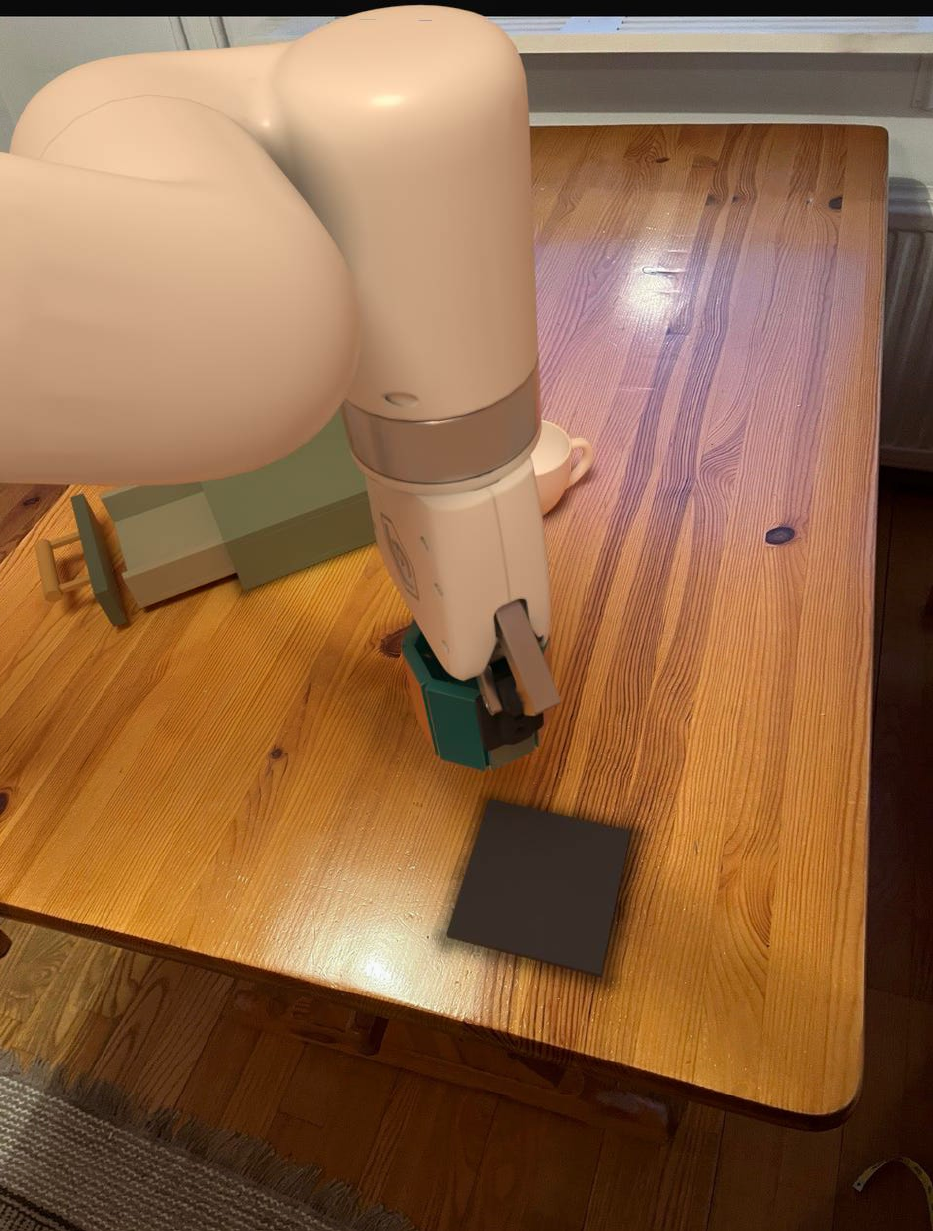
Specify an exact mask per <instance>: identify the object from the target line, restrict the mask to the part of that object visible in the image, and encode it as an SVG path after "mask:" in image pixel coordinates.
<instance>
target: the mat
mask: <svg viewBox="0 0 933 1231" xmlns="http://www.w3.org/2000/svg"><path fill="white" fill-rule="evenodd" d="M481 819H482V820H481V822H480V826H479V829H478V832H477V835H476V838H475V842H474V845H473V848H472V851H471V855H470V857H469V861H468V864H467V866H466V870H465V874H464V876H463V880H462V883H461V886H460V890H459V892H458V895H457V899H456V901H455V902H456V903H455V906H454V909H453V911H452V915H451V918H450V921H449V924H448V927H447V930H446V937H447V938H449V939H452V940H456V941H459V942H464V943H467V944H471V945H475V946H478V947H483V948H487V949H490V950H495V951H498V952H502V953H505V954H509V955H513V956H517V957H520V958H525V959H528V960H532V961H536V962H539V963H543V964H547V965H551V966H554V967H559V968H563V969H567V970H570V971H574V972H578V973H582V974H585V975H589V976H593V977H597V978H602V976H603V971H604V966H605V961H606V956H607V951H608V947H609V941H610V937H611V931H612V928H613V927H612V926H613V921H614V917H615V912H616V911H615V910H616V907H617V903H618V897H619V892H620V886H621V883H622V878H623V873H624V869H625V868H624V867H625V863H626V858H627V853H628V848H629V843H630V838H631V829H627V828H623V827H618V826H615V825H609V824H605V823H600V822H596V821H591V820H586V819H582V818H577V817H572V816H569V815H563V814H559V813H556V812H555V813H554V812H550V811H546V810H541V809H536V808H532V807H527V806H522V805H519V804H513V803H509V802H505V801H500V800H496V799H492V798H489V799H488V800H487V803H486V806H485V810H484V813H483V815H482V818H481Z"/></svg>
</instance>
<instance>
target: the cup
mask: <svg viewBox="0 0 933 1231" xmlns="http://www.w3.org/2000/svg"><path fill="white" fill-rule="evenodd" d="M541 422H542V429H541V434H540V439H539V441H538V443H537V445H536V448H535V449H534V451H533V452H532V453H531V455H530V456H531V459H532V462H533V467H534V472H535V477H536V482H537V488H538V493H539V499H540V505H541V511H542V517H545V515H547V514H548V513H549V512H551V510H553V509H554V507H555V506H556V505H557V504H558V502H559V501H560V500H561V499H562V496H564V493H565V491H566V490H567V489H569V488H571V487H572V486H573V485H575V484H576V483H577V482H578V481H579V480H581V478H582V477H583V476H584V475H585V474H586V473H587V472H588V470H589V468H590V467H591V465H592V463H593V460H594V450H593V446H592V444H591V443H590V441H589V440H588V439H587V438H585V437H582V436H581V437H580V436H578V437H572V438H571V437H570V435H569V434H568V433H567V432H566V431H565V430H564V428H562V427H561V426H559V425H558V424H555V423H554V422H551V421H548V420H544V419H541ZM579 449H582V456H581V459H580V460H579V462H578V464H576V466H575V467H574V468H573V469H572V458H573V457H572V456H573V454H572V453H573V452H574V451H576V450H579Z"/></svg>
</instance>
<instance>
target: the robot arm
mask: <svg viewBox="0 0 933 1231" xmlns="http://www.w3.org/2000/svg"><path fill="white" fill-rule="evenodd" d="M359 19H376V20H359ZM419 20H432V21H419ZM484 20H490V19H489V18H487V17H486V16H484V15H482V14H479V13H476V12H473V11H470V10H466V9H465V10H464V9H461V8H455V7H450V6H442V5H429V4H427V5H425V4H418V5H417V4H415V5H411V4H410V5H397V6H389V7H382V8H375V9H371V10H367V11H362V12H358V13H354V14H351V15H347V16H344V17H341V18H339V19H336V20H333V21H331V22H329V23H326V24H324V25H322V26H320V27H318V28H316V29H314V30H311V31H310V32H308V33H306V34H305V35H303V36H302V37H299V38H298V39H295V40H289V41H282V42H273V43H266V44H255V45H244V46H233V47H220V48H205V49H204V48H203V49H187V50H170V51H168V50H167V51H165V50H164V51H150V52H139V53H131V54H122V55H121V54H120V55H114V56H108V57H104V58H100V59H96V60H92V61H89V62H87V63H83V64H80V65H77V66H75V67H72V68H70V69H68V70H66V71H64V72H63V73H61V74H60V75H58V76H56V77H55V78H54V79H52V80H51V81H49V82H48V83H46V84H45V85H44V86H43V87H42V88H40V90H38V92H36V94H34V95H33V97H32V98H31V100H29V102H28V103H27V105H26V106H25V108H24V110H23V111H22V113H21V115H20V117H19V119H18V121H17V123H16V125H15V128H14V129H13V130H14V131H13V134H12V137H11V140H10V145H9V152H2V151H0V484H22V485H23V484H26V485H29V484H30V485H63V486H64V485H65V486H67V485H68V486H99V487H101V486H103V487H104V486H105V487H106V486H107V487H109V486H111V487H114V486H115V487H116V486H117V487H121V486H151V485H175V484H185V483H192V482H200V481H208V480H215V479H222V478H226V477H230V476H234V475H238V474H241V473H245V472H249V471H253V470H256V469H259V468H261V467H263V466H265V465H268V464H270V463H272V462H275V461H277V460H279V459H281V458H284V457H286V456H288V455H289V454H291V453H292V452H294V451H295V450H297V449H298V448H300V447H301V446H303V445H304V444H306V443H307V442H308V441H310V440H311V439H312V438H313V437H314V436H315V435H316V434H317V433H318V432H319V431H320V430H321V429H322V428H323V427H324V426H325V425H326V424H327V423H328V422H329V421H330V420H331V419H332V417H333V416H334V414H335V413H336V411H337V410H338V408H339V407H340V411H341V415H342V420H343V424H344V428H345V432H346V436H347V439H348V443H349V448H350V452H351V456H352V458H353V460H354V462H355V463H356V465H357V466H358V468H359V469H360V470H361V471H362V472H363V473H364V474H365V479H366V484H367V490H368V496H369V502H370V507H371V513H372V518H373V524H374V530H375V535H376V540H377V541H376V544H377V548H378V551H379V554H380V558H381V559H382V562H383V564H384V566H385V568H386V570H387V572H388V574H389V576H390V578H391V580H392V581H393V583H394V585H395V587H396V589H397V590H398V592H399V593H400V596H401V598H402V599H403V601H404V603H405V605H406V607H407V608H408V610H409V612H410V613H411V616H412V617H413V619H415V621H416V622H417V624H418V626H419V628H420V629H421V631H422V633H423V635H424V636H425V638H426V640H427V641H428V643H429V645H430V647H431V648H432V650H433V652H434V653H435V655H436V657H437V658H438V660H439V662H440V663H441V665H442V666H443V668H444V669H445V670H446V671H447V672H448V673H449V674H450V675H451V676H453V677H455V678H457V679H459V680H462V681H465V680H468V679H470V678H473V677H475V676H476V679H477V682H478V686H479V689H480V692H481V694H480V695H478V697H477V698H475V703H476V710H477V717H478V723H479V730H480V737H481V742H482V744H483V745H484V747H485V749H486V750H487V751H492V750H495V749H497V748H499V747H501V746H503V745H506V744H507V745H515V744H518V743H520V742H522V741H524V740H526V739H528V738H529V737H531V736H532V735H533V733H534V732H535V731H537V730H539V729H540V728H541V727H542V726H543V725H544V715H543V712H545V711H547V710H549V709H552V708H553V709H554V708H556V707H558V706H560V705H562V700H561V695H560V693H559V691H558V688H557V686H556V684H555V682H554V677H553V675H552V676H551V674H550V671H549V669H548V666H547V664H546V661H545V659H544V656H543V654H542V652H541V649H540V647H543V646H544V645H545V644H546V642H547V640H548V637H549V634H550V635H551V627H552V590H551V589H552V588H551V577H550V566H549V557H548V549H547V539H546V533H545V526H544V518H543V516H542V511H541V505H540V499H539V493H538V488H537V482H536V477H535V472H534V467H533V462H532V459H531V456H530V455H531V453H532V452H533V451H534V449H535V448H536V445H537V443H538V441H539V439H540V434H541V429H542V422H541V420H542V400H541V398H542V397H541V373H540V372H541V371H540V351H539V334H538V333H539V332H538V309H537V308H538V307H537V287H536V286H537V284H536V282H537V281H536V260H535V259H536V258H535V256H536V255H535V230H534V206H533V205H534V203H533V181H532V180H533V179H532V178H533V177H532V156H531V155H532V153H531V126H530V105H529V93H528V82H527V75H526V71H525V68H524V64H523V60H522V58H521V55H520V53H519V50H518V48H517V46H516V44H515V43H514V42H513V40H512V39H511V37H510V36H509V35H508V34H507V32H506V31H505V30H504V29H503V28H502V27H501V26H499V25H497V24H496V23H494V22H493V21H492V20H490V21H484ZM496 635H497V637H496ZM539 646H540V647H539ZM503 658H506V659H507V661H508V664H509V666H510V669H511V671H512V674H513V675H511V676H509V677H507V678H504V679H502V680H500V681H497V682H495V680H494V677H493V674H492V670H491V667H490V665H489V664H492V663H494V662H496V661H499V660H501V659H503Z"/></svg>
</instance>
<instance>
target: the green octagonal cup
mask: <svg viewBox="0 0 933 1231" xmlns="http://www.w3.org/2000/svg"><path fill="white" fill-rule="evenodd" d="M496 637H497V635H496ZM551 644H552V643H551V633H550V634H549V637H548V640H547V642H546V644H545V645H544V646H543V647H540V646H539V647H540V649H541V652H542V654H543V656H544V659H545V661H546V664H547V666H548V669H549V671H550V674H551V676H552V677H553V674H552V673H553V672H552V671H553V670H552V645H551ZM400 647H401V649H400V652H401V656H402V661H403V665H404V669H405V673H406V678H407V682H408V686H409V690H410V696H411V699H412V704H413V708H414V712H415V715H416V720H417V722H418V724H419V725H418V726H420V729H421V730H422V733H424V736H425V738H426V740H427V742H428V744H429V746H430V748H431V750H432V752H433V753H434V755H435V757H438V756H439V760H442V761H445V762H449V763H453V764H456V765H460V766H463V767H466V768H471V769H474V770H478V771H481V772H487V770H488V768H489V770H490V771H491V772H493V771H495V770H498V769H499V768H502V767H504V766H506V765H508V764H511V763H512V762H515V761H518V760H519V759H522V758H524V757H526V756H528V755H530V754H532V753H534V752H535V751H536V748H540V746H541V743H542V741H543V738H544V735H545V733H546V730H547V728H548V725H549V721H550V719H551V716H552V714H553V711H554V708H552V709H549V710H547V711H545V712H543V715H544V725H543V726H542V727H541V728H540V729H539V730H537V731H535V732H534V733H533V735H532V736H531V737H529V738H528V739H526V740H524V741H522V742H520V743H518V744H515V745H507V744H506V745H503V746H501V747H499V748H497V749H495V750H492V751H487V750H486V749H485V747H484V745H483V744H482V742H481V737H480V730H479V723H478V717H477V710H476V703H475V698H477V697H478V695H480V694H481V692H480V689H479V686H478V682H477V679H476V676H475V677H473V678H470V679H468V680H465V681H462V680H459V679H457V678H455V677H453V676H451V675H450V674H449V673H448V672H447V671H446V670H445V669H444V668H443V666H442V665H441V663H440V662H439V660H438V658H437V657H436V655H435V653H434V652H433V650H432V648H431V647H430V645H429V643H428V641H427V640H426V638H425V636H424V635H423V633H422V631H421V629H420V628H419V626H418V624H417V622H416V621H415V619H414V618H413V619H412V621H411V623H410V625H409V627H408V629H407V631H406V633H405V635H404V637H403V639H402V641H401V643H400ZM489 665H490V667H491V670H492V674H493V677H494V680H495V682H497V681H500V680H502V679H504V678H507V677H509V676H511V675H513V674H512V671H511V669H510V666H509V664H508V661H507V659H506V658H503V659H501V660H499V661H496V662H494V663H492V664H489Z"/></svg>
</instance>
